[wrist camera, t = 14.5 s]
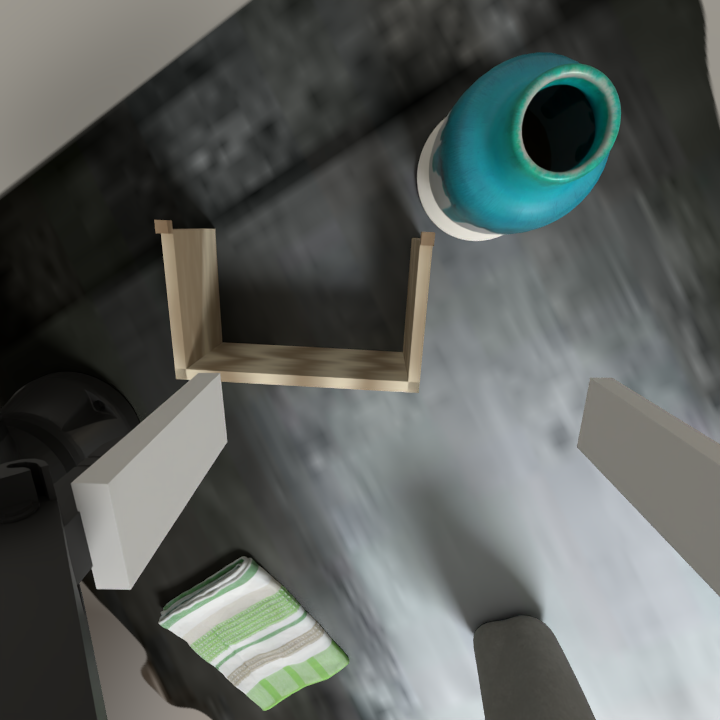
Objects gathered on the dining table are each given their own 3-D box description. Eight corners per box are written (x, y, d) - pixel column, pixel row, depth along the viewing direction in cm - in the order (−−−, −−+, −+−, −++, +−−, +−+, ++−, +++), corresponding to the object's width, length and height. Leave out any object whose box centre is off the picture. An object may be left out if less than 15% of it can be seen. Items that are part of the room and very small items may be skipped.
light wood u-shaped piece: (214, 350, 46) (171, 382, 36) (204, 221, 41) (154, 219, 32) (411, 361, 45) (419, 396, 36) (422, 231, 41) (435, 232, 32)
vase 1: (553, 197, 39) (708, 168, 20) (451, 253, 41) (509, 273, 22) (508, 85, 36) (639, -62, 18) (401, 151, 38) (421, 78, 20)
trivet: (411, 237, 41) (412, 238, 40) (422, 100, 37) (423, 98, 37) (532, 243, 41) (534, 243, 40) (555, 105, 37) (558, 103, 36)
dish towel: (250, 548, 55) (242, 569, 52) (353, 653, 60) (351, 678, 57) (161, 602, 59) (148, 625, 55) (265, 696, 64) (259, 722, 61)
